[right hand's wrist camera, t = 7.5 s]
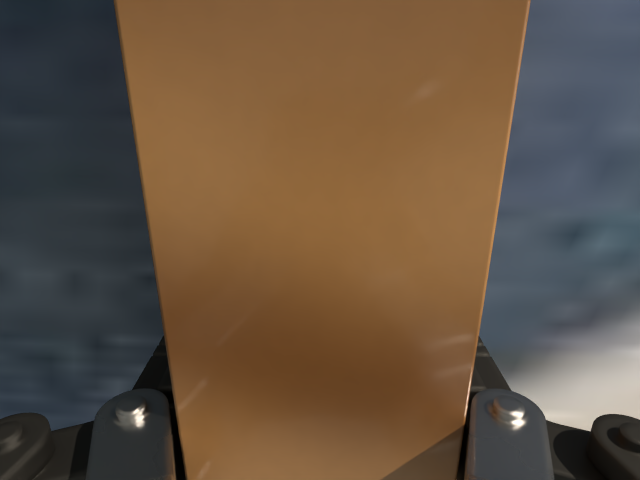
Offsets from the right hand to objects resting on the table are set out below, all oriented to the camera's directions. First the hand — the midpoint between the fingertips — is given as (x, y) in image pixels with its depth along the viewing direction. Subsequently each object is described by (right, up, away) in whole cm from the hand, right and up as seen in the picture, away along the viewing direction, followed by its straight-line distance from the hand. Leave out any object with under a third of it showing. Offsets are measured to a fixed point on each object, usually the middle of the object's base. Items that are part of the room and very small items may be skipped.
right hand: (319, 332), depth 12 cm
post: (0, +20, -4) cm, 21 cm away
